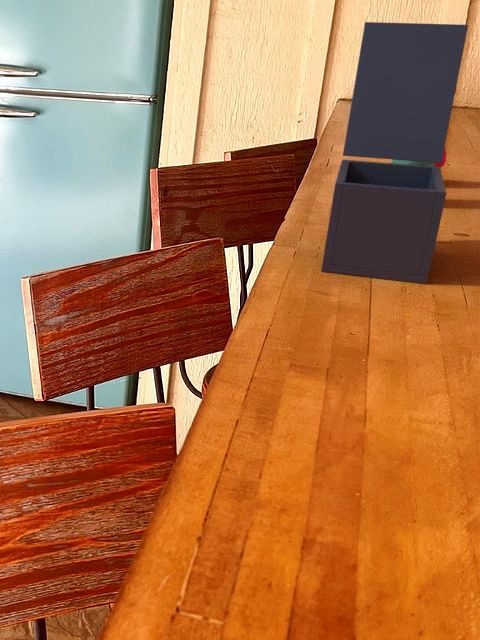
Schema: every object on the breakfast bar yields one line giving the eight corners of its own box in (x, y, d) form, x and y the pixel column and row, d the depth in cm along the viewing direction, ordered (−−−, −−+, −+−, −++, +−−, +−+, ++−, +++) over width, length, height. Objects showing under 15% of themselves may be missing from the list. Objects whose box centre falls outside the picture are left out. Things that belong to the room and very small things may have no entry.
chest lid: (468, 24, 110) (467, 25, 110) (365, 21, 114) (365, 22, 115) (441, 163, 114) (440, 163, 115) (342, 155, 118) (342, 155, 119)
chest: (426, 284, 105) (446, 192, 101) (321, 271, 109) (335, 183, 105) (423, 249, 119) (440, 166, 114) (329, 239, 123) (342, 159, 118)
